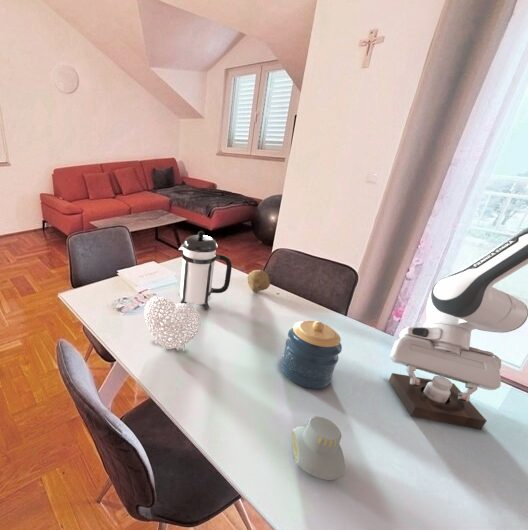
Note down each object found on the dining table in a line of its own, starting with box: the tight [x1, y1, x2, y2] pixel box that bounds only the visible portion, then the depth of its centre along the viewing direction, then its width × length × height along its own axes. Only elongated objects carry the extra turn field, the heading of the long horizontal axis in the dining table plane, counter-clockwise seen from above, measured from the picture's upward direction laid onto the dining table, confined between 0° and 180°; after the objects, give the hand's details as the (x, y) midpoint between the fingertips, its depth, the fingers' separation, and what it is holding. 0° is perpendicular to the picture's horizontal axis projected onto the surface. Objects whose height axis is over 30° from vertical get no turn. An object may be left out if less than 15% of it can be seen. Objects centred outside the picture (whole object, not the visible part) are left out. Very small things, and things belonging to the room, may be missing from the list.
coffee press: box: [178, 230, 233, 310], centre depth 122 cm, size 17×16×30 cm
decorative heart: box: [143, 296, 201, 352], centre depth 98 cm, size 18×11×17 cm, turn 60°
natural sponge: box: [247, 269, 271, 293], centre depth 133 cm, size 9×9×10 cm
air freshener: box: [290, 416, 346, 481], centre depth 65 cm, size 11×8×10 cm
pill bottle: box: [423, 375, 453, 404], centre depth 79 cm, size 4×4×8 cm
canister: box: [280, 320, 343, 390], centre depth 87 cm, size 13×13×18 cm
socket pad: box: [388, 372, 488, 430], centre depth 80 cm, size 14×12×3 cm
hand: (438, 392), depth 78 cm, fingers open, 8 cm apart
